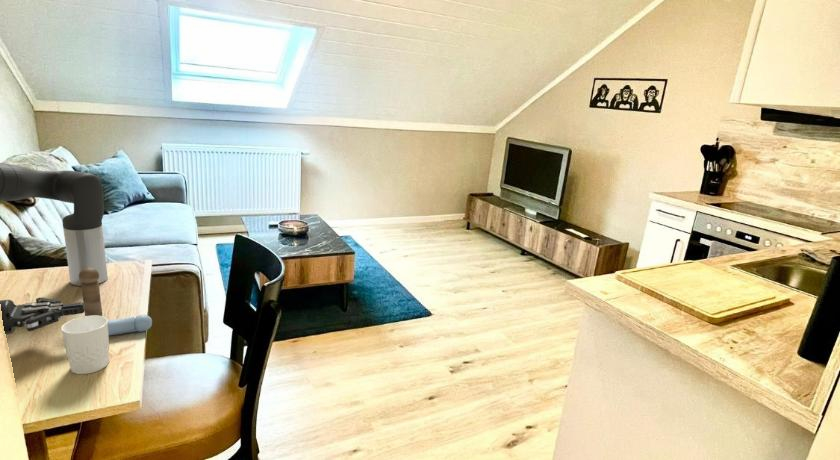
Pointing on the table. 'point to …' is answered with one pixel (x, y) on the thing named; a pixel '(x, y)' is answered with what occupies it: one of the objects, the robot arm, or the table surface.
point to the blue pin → (129, 325)
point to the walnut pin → (90, 291)
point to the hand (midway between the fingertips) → (83, 307)
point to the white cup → (86, 343)
